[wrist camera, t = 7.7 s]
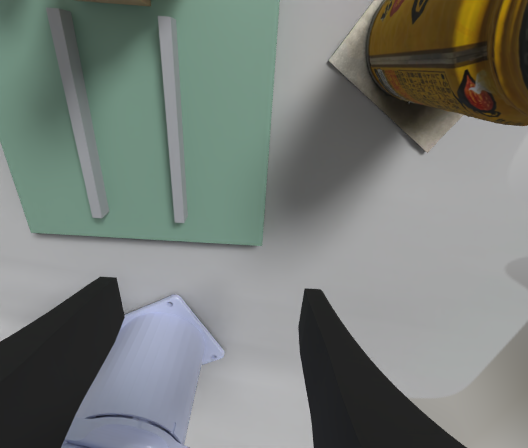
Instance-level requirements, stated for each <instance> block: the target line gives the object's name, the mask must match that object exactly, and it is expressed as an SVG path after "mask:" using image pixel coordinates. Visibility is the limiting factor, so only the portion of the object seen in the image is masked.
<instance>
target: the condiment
mask: <svg viewBox="0 0 528 448" xmlns="http://www.w3.org/2000/svg"><path fill="white" fill-rule="evenodd" d="M329 62H331V63H332V64H333V65H334V66H335V67H336V68H337V69H338V70H339V71H340V72H341V73H342V74H343V75H344V76H345V77H346V78H347V79H349V80H350V81H351V82H352V83H353V84H354V85H355V86H356V87H357V88H358V89H359V90H360V91H361V92H362V93H363V94H365V95H366V96H367V97H368V98H369V99H370V100H371V101H372V102H373V103H374V104H375V105H376V106H377V107H379V108H380V109H381V110H382V111H383V112H384V113H385V114H386V115H387V116H388V117H390V118H391V119H392V120H393V121H394V122H395V123H396V124H397V125H398V126H399V127H400V128H401V129H402V130H403V131H404V132H405V133H406V134H407V135H409V136H410V137H411V138H412V139H413V140H414V141H415V142H416V143H418V144H419V145H420V146H421V147H422V148H423V149H424V150H425V151H426V152H427V153H428V152H429V151H430V149H431V148H432V147H433V146H434V145H435V144H436V143H437V142H438V141H439V139H440V138H441V137H442V136H444V135H445V133H446V132H447V131H448V130H449V129H450V128H451V127H452V126H453V125H454V124H455V123H456V122H457V121H458V120H459V119H460V118H461V117H462V116H463V115H467V116H468V117H474V118H478V119H482V120H486V121H490V122H494V123H499V124H504V125H515V126H527V125H528V0H374V1H373V2H372V4H371V5H370V6H369V8H368V9H367V10H366V12H365V13H364V14H363V15H362V17H361V18H360V19H359V21H358V22H357V23H356V25H355V26H354V28H353V29H352V30H351V31H350V33H349V35H348V36H347V37H346V38H345V40H344V41H343V42H342V44H341V45H340V46H339V48H338V49H337V50H336V51H335V53H334V54H333V55H332V57H331V58H330V59H329ZM409 102H410V104H409Z"/></svg>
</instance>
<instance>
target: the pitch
mask: <svg viewBox="0 0 528 448" xmlns="http://www.w3.org/2000/svg"><path fill="white" fill-rule="evenodd" d="M279 2H280V0H151V6H138V5H125V4H112V3H98V2H85V1H75V0H0V142H1V145H2V148H3V151H4V154H5V157H6V160H7V163H8V166H9V169H10V172H11V175H12V177H13V180H14V183H15V186H16V189H17V192H18V195H19V198H20V201H21V204H22V207H23V210H24V213H25V216H26V219H27V222H28V225H29V228H30V231H31V233H46V234H63V235H81V236H98V237H115V238H133V239H150V240H168V241H185V242H202V243H220V244H237V245H254V246H262V240H263V226H264V212H265V198H266V184H267V170H268V156H269V142H270V128H271V114H272V100H273V86H274V72H275V58H276V44H277V30H278V16H279Z"/></svg>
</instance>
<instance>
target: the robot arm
mask: <svg viewBox="0 0 528 448" xmlns="http://www.w3.org/2000/svg"><path fill="white" fill-rule="evenodd" d="M169 302H171V303H172V304H171V303H169ZM299 345H300V355H301V361H302V367H303V373H304V379H305V385H306V391H307V396H308V402H309V408H310V414H311V422H312V431H313V443H314V448H466V447H465V446H464V445H462V444H461V443H460V442H458V441H457V440H456V439H454V438H453V437H452V436H451V435H449V434H448V433H447V432H445V431H444V430H443V429H442V428H441V427H440V426H438V425H437V424H436V423H435V422H434V421H432V420H431V419H430V418H429V417H428V416H427V415H425V414H424V413H423V412H422V411H421V410H420V409H419V408H418V407H417V406H415V405H414V404H413V403H412V402H411V401H410V400H409V399H408V398H407V397H406V396H405V395H404V394H403V393H402V392H401V391H399V390H398V389H397V388H396V387H395V386H394V385H393V384H392V383H391V382H390V380H389V379H388V378H387V377H386V376H385V375H384V374H383V373H382V372H381V371H380V370H379V369H378V368H377V366H376V365H375V364H374V363H373V362H372V361H371V360H370V358H369V357H368V356H367V355H366V354H365V352H364V351H363V350H362V349H361V347H360V346H359V345H358V344H357V342H356V341H355V340H354V338H353V337H352V336H351V334H350V333H349V331H348V330H347V329H346V327H345V326H344V324H343V323H342V322H341V320H340V319H339V317H338V316H337V314H336V313H335V311H334V310H333V308H332V306H331V305H330V303H329V302H328V300H327V298H326V297H325V295H324V293H323V292H322V291H321V289H305V290H304V296H303V302H302V308H301V314H300V321H299ZM223 357H224V350H223V349H222V348H221V346H220V345H219V344H218V343H217V341H216V340H215V339H214V338H213V336H212V335H211V334H210V333H209V331H208V330H207V329H206V328H205V326H204V325H203V324H202V323H201V321H200V320H199V319H198V318H197V316H196V315H195V314H194V313H193V312H192V310H191V309H190V308H189V307H188V305H187V304H186V303H185V302H184V300H183V299H182V298H181V297H180V296H179V295H172V296H169V297H167V298H164V299H162V300H160V301H157V302H155V303H152V304H150V305H147V306H145V307H142V308H140V309H138V310H135V311H133V312H130V313H128V314H125V315H124V312H123V307H122V302H121V297H120V293H119V288H118V283H117V278H112V277H99V278H98V279H96V280H95V281H93V282H92V283H90V284H89V285H87V286H86V287H84V288H83V289H81V290H80V291H78V292H77V293H76V294H74V295H73V296H71V297H70V298H68V299H67V300H65V301H64V302H62V303H61V304H59V305H58V306H57V307H55V308H54V309H52V310H51V311H49V312H48V313H46V314H45V315H43V316H41V317H40V318H38V319H37V320H35V321H34V322H32V323H30V324H29V325H27V326H26V327H24V328H22V329H21V330H19V331H18V332H16V333H14V334H13V335H11V336H9V337H8V338H6V339H4V340H2V341H1V342H0V448H190V447H187V446H184V443H185V438H186V433H187V429H188V424H189V420H190V415H191V410H192V406H193V401H194V396H195V392H196V387H197V383H198V378H199V373H200V369H201V365H203V364H206V363H209V362H212V361H215V360H218V359H221V358H223Z"/></svg>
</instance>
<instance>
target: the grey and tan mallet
mask: <svg viewBox="0 0 528 448" xmlns="http://www.w3.org/2000/svg"><path fill="white" fill-rule="evenodd" d="M75 1H85V2H98V3H112V4H125V5H138V6H151V0H75Z"/></svg>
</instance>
